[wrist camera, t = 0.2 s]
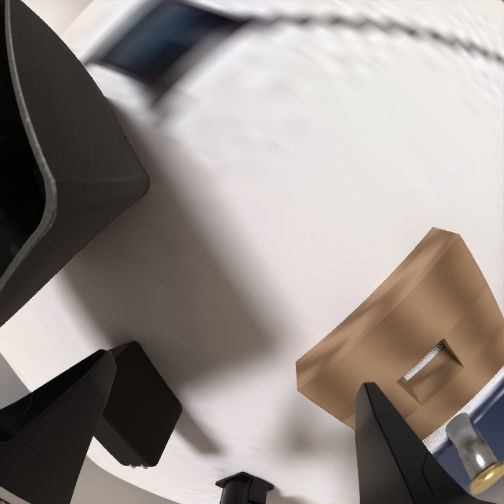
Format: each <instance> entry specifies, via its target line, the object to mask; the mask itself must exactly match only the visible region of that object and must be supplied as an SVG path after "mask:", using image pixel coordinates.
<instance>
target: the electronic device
mask: <svg viewBox="0 0 504 504" xmlns="http://www.w3.org/2000/svg"><path fill="white" fill-rule="evenodd" d="M108 351H110V352H111V354H112V356H113V359H114V361H115V363H116V367H117V369H116V373H115V377H114V380H113V383H112V386H111V390H110V393H109V396H108V400H107V403H106V405H105V408H104V410H103V413H102V415H101V418H100V420H99V422H98V425H97V428H96V430H95V433H94V435H93V436H94V437H95V438H96V439H97V440H98V441H99V442H100V443H101V445H102V446H103V447H104V448H105V449H106V450H107V451H108V452H109V453H110V454H111V455H112V456H113V457H114V458H115V459H116V460H117V461H118V462H119V463H120V464H122V465H124V466H131V467H132V468H136V466H142V467H143V468H144V469H147V468H148V467H154V466H156V465H157V464H158V462H159V460H160V458H161V455H162V453H163V451H164V449H165V447H166V445H167V442H168V440H169V438H170V436H171V434H172V432H173V429H174V427H175V425H176V423H177V421H178V419H179V416H180V414H181V411H182V407H181V404H180V402H179V401H178V399H177V398H176V397H175V395H174V394H173V393H172V391H171V390H170V389H169V387H168V386H167V384H166V383H165V382H164V380H163V379H162V377H161V376H160V375H159V373H158V372H157V370H156V369H155V367H154V366H153V364H152V363H151V361H150V360H149V358H148V357H147V355H146V354H145V352H144V351H143V349H142V347H141V346H140V345H139V343H138V342H135V341H133V342H130V343H127V344H124V345H122V346H119V347H116V348H113V349H110V350H108Z"/></svg>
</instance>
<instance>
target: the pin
mask: <svg viewBox="0 0 504 504" xmlns="http://www.w3.org/2000/svg"><path fill="white" fill-rule="evenodd" d="M446 432H447V434H448V436H449V437H450V439H451V441H452V443H453V445H454V446H455V449H456V450H457V452H458V454H459V456H460V458H461V460H462V462H463V464H464V466H465V468H466V470H467V472H468V474H469V476H470V478H471V480H472V483H471V484H470V486H469V487H470V490H471V492H472V494H473V495H477V494H479V493H481V492H483V491H484V490H486V489H487V488H489V487H490V486H492V485H493V484H494V483H495V482H496V481H498V480H499V479H500V478H501V477H502V476H503V475H504V462H503V461H499V462H498V461H497V460H496V458H495V456H494V455H493V453H492V451H491V450H490V448H489V446H488V445H487V443H486V442H485V440H484V438H483V437H482V435H481V434H480V432H479V431H478V429H477V427H476V426H475V424H474V423H473V421H472V420H471V418H470V417H469V415H468V414H467V413H461V414H459V415H457V416H456V417H455V418H453V419H452V420H451V421H450V422H449V423H448V425H447V427H446Z"/></svg>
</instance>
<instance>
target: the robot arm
mask: <svg viewBox="0 0 504 504" xmlns="http://www.w3.org/2000/svg"><path fill="white" fill-rule="evenodd" d="M116 369H117V367H116V363H115V361H114V359H113V356H112V354H111V352H110V351H107V350H103V349H100V350H98V351H96V352H95V353H93V354H91V355H90V356H88V357H87V358H85V359H83V360H82V361H80V362H79V363H77V364H76V365H74V366H72V367H71V368H69V369H68V370H66V371H64V372H63V373H61V374H60V375H58V376H57V377H55V378H53V379H52V380H50V381H49V382H47V383H45V384H44V385H42V386H41V387H39V388H38V389H36V390H34V391H33V392H31V393H29V394H28V395H26V396H25V397H23V398H21V399H20V400H18V401H16V402H14V403H13V404H11V405H8V406H6V407H4V408H3V409H0V504H70V502H71V498H72V495H73V492H74V489H75V486H76V482H77V479H78V476H79V473H80V470H81V468H82V465H83V462H84V459H85V456H86V454H87V451H88V448H89V446H90V443H91V440H92V438H93V435H94V433H95V430H96V428H97V425H98V422H99V420H100V418H101V415H102V413H103V410H104V408H105V405H106V403H107V400H108V396H109V393H110V390H111V386H112V383H113V380H114V377H115V373H116ZM355 442H356V452H357V463H358V476H359V491H360V504H496V503H491V502H486V501H482V500H479V499H476V498H474V497H472V496H471V495H469V494H468V493H467V492H466V491H465V490H464V489H463V488H462V487H461V486H460V485H459V484H458V483H457V482H456V481H455V480H454V479H453V478H452V477H451V476H450V475H449V474H448V473H447V472H446V471H445V470H444V468H443V467H442V466H441V465H440V464H439V463H438V461H437V460H436V459H435V458H434V456H433V455H432V454H431V453H430V451H428V449H427V447H426V446H425V445H424V444H423V442H422V441H421V440H420V438H419V437H418V436H417V435H416V433H415V432H414V431H413V429H412V428H411V427H410V426H409V424H408V423H407V422H406V420H405V419H404V418H403V417H402V415H401V414H400V413H399V412H398V410H397V409H396V408H395V407H394V405H393V404H392V403H391V401H390V400H389V399H388V398H387V396H386V395H385V394H384V393H383V391H382V390H381V389H380V388H379V386H378V385H377V384H376V383H375V382H363V383H362V385H361V387H360V389H359V391H358V393H357V395H356V398H355ZM215 485H217V486H219V487H221V488H223V491H222V495H221V500H220V504H266V495H267V491H270V490H273V489H274V486H273V485H270V484H268V483H266V482H264V481H261V480H259V479H257V478H255V477H253V476H251V475H249V474H247V473H244V472H240V473H237V474H235V475H233V476H230V477H227V478H225V479H222V480H220V481H217V482H216V484H215Z"/></svg>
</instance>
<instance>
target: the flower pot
mask: <svg viewBox="0 0 504 504" xmlns="http://www.w3.org/2000/svg"><path fill="white" fill-rule="evenodd" d="M148 188H149V177H148V175H147V173H146V172H145V170H144V168H143V166H142V165H141V163H140V161H139V160H138V158H137V156H136V154H135V152H134V151H133V149H132V147H131V145H130V144H129V142H128V140H127V138H126V136H125V135H124V133H123V131H122V129H121V127H120V125H119V123H118V122H117V120H116V118H115V116H114V114H113V112H112V110H111V109H110V107H109V105H108V103H107V101H106V99H105V97H104V95H103V93H102V92H101V90H100V89H99V87H98V86H97V84H96V83H95V81H94V80H93V78H92V77H91V76H90V74H89V73H88V72H87V70H86V69H85V68H84V66H83V65H82V64H81V62H80V61H79V60H78V59H77V57H76V56H75V55H74V54H73V52H72V51H71V50H70V49H69V48H68V47H67V45H66V44H65V43H64V42H63V41H62V40H61V39H60V37H59V36H58V35H57V34H56V33H55V32H54V31H53V30H52V29H51V28H50V27H49V26H48V25H47V24H46V23H45V22H44V21H43V20H42V19H41V18H40V17H39V16H38V15H36V13H34V12H33V11H32V10H31V9H30V8H29V7H28V6H27V5H26V4H25V3H23V2H22V1H21V0H0V327H1V326H2V325H3V324H5V323H6V322H7V321H8V320H9V319H10V318H11V317H12V316H13V315H14V314H15V313H16V312H17V311H18V310H19V309H21V308H22V307H23V306H24V305H25V304H26V303H27V302H28V301H29V300H30V299H31V298H32V297H33V296H34V295H35V294H36V293H37V292H38V291H39V290H40V289H41V288H42V287H43V286H44V285H45V284H47V283H48V282H49V281H50V279H51V278H52V277H53V276H54V275H55V274H56V273H58V272H59V271H60V270H61V269H62V268H63V267H64V266H65V265H66V264H67V263H68V262H69V261H70V260H71V259H72V258H73V257H74V256H75V255H76V254H77V253H78V252H79V251H80V250H81V249H82V248H83V247H84V246H85V245H86V244H87V243H88V242H89V241H90V240H91V239H92V238H93V237H94V236H95V235H97V234H98V233H99V232H100V231H101V230H102V229H103V228H104V227H105V226H107V225H108V224H109V223H110V222H111V221H112V220H113V219H115V218H116V217H117V216H118V215H119V214H121V213H122V212H123V211H124V210H125V209H126V208H128V207H129V206H130V205H131V204H133V203H134V202H135V201H136V200H138V199H139V198H140V197H142V196H143V195H144V194H145V193H146V192H147V190H148Z"/></svg>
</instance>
